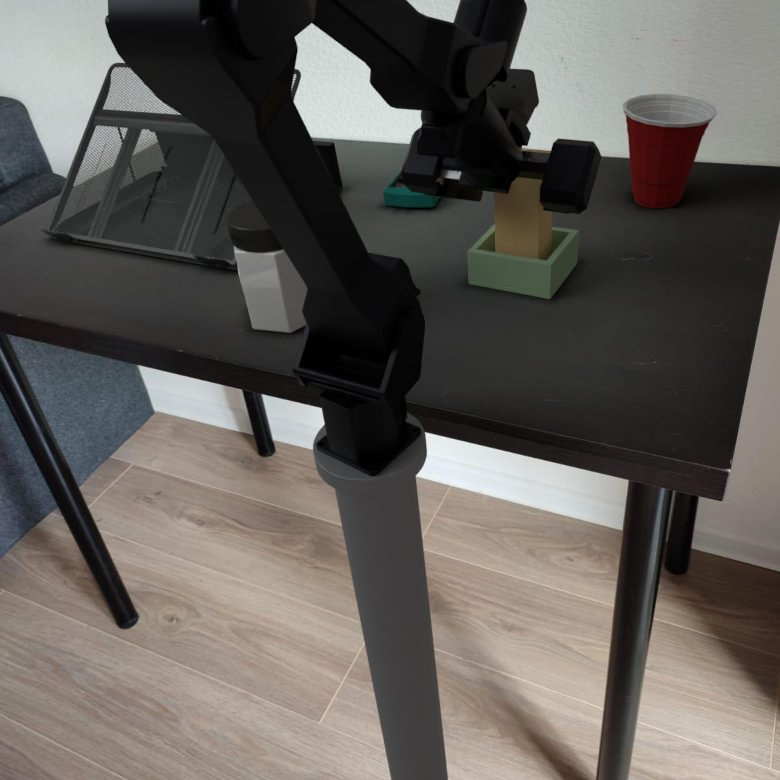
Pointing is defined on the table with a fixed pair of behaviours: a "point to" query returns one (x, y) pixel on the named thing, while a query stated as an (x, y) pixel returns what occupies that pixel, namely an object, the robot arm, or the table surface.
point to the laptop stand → (183, 159)
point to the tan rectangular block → (523, 220)
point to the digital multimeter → (406, 196)
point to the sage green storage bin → (523, 265)
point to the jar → (265, 273)
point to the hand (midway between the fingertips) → (520, 202)
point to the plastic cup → (664, 144)
